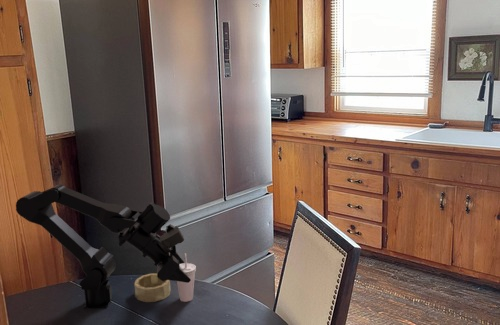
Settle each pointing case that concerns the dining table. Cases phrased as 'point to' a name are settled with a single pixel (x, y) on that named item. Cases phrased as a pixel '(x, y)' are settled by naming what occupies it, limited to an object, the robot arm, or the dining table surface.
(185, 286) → the smoothie
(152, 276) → the collar
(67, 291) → the dining table surface
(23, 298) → the dining table surface
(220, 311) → the dining table surface
